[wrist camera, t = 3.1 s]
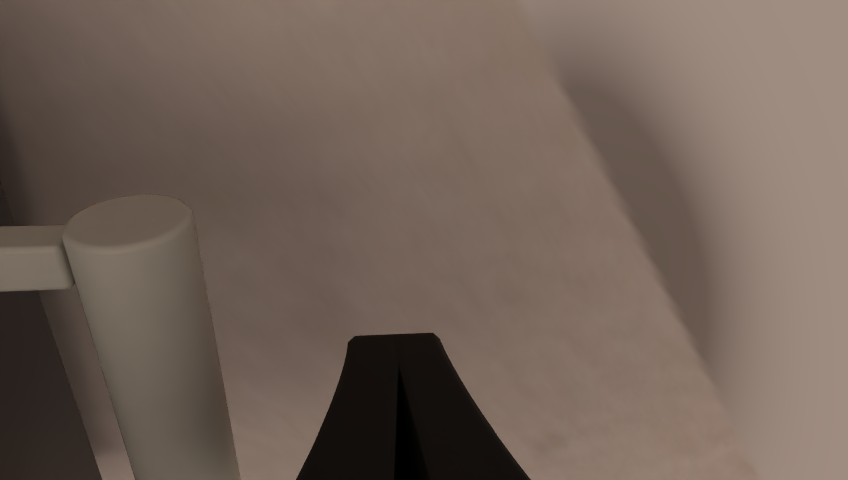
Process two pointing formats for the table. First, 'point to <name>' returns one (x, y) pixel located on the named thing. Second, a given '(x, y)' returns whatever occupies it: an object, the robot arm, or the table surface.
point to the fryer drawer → (113, 344)
